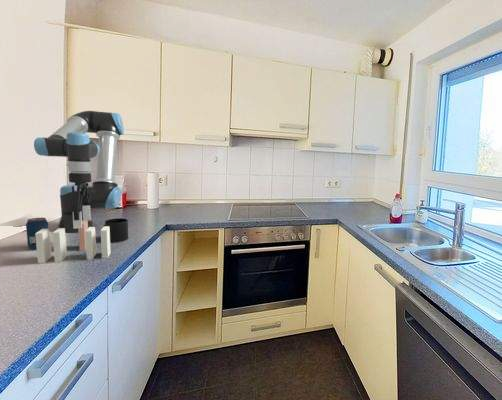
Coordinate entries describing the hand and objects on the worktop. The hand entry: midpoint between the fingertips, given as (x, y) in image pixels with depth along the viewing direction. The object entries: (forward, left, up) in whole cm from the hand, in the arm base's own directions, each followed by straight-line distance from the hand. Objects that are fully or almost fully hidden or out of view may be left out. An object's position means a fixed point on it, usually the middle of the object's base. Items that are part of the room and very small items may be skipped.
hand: (82, 224), depth 106 cm
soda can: (-4, -17, -11) cm, 21 cm away
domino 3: (0, 0, -10) cm, 10 cm away
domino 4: (+11, +5, -10) cm, 16 cm away
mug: (-10, +10, -11) cm, 18 cm away
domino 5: (+11, +10, -10) cm, 18 cm away
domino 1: (+11, -10, -10) cm, 18 cm away
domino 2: (+11, -5, -10) cm, 16 cm away
